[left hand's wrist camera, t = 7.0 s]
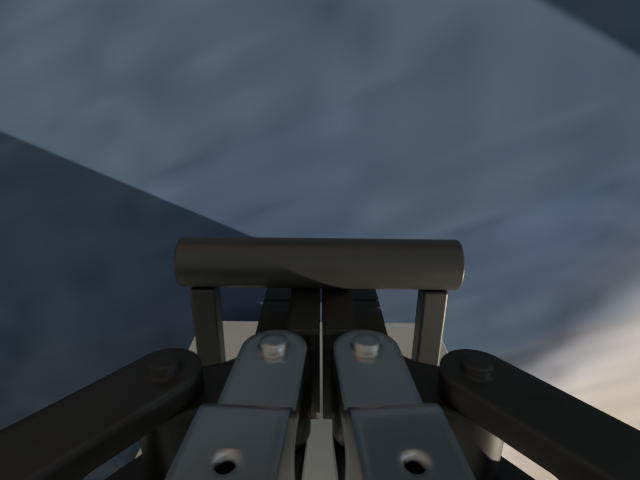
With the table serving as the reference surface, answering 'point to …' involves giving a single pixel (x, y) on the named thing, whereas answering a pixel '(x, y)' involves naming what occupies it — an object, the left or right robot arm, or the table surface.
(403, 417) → the left robot arm
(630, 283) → the table surface
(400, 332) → the drawer
